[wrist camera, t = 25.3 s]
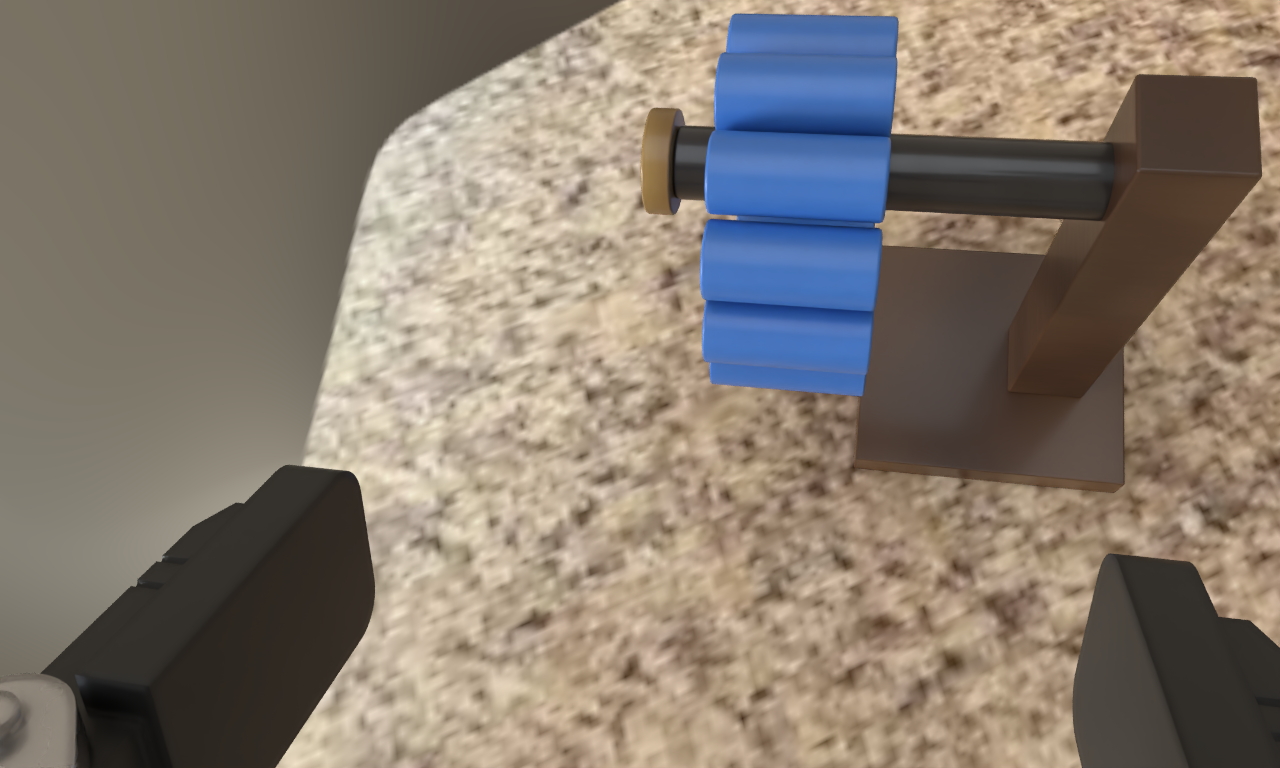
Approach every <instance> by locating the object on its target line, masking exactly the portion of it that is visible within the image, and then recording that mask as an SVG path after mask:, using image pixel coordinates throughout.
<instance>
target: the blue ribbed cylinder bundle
mask: <svg viewBox="0 0 1280 768" xmlns="http://www.w3.org/2000/svg"><path fill="white" fill-rule="evenodd" d="M898 25H899V21H898V18H897V17H895V16H841V15H786V14H734V15H732V18H731V20H730V24H729V29H728V37H727V49H726V52H724V53H722V54H721V55H720V58H719V61H718V66H717V72H716V81H715V96H714V120H715V129H716V130H715V131H713V132H712V133H711V136H710V138H709V142H708V147H707V154H706V164H705V182H704V193H705V205H706V209H707V212H708V213H710V214H718V215H737V220H722V219H710V220H708V222H707V224H706V226H705V230H704V234H703V240H702V248H701V260H700V289H701V295H702V298H703V299H705V300H706V302H705V309H704V317H703V331H702V352H703V358H704V361H706V362H710V380H711V383H712V384H719V385H731V386H743V387H755V388H767V389H779V390H791V391H803V392H814V393H826V394H838V395H850V396H863V395H864V390H865V382H866V374H867V373H868V370H869V363H870V355H871V345H872V334H873V321H874V310H875V308H876V303H877V296H878V287H879V277H880V266H881V253H882V230H881V229H879V228H875V223H881V222H883V220H884V216H885V209H886V201H887V192H888V182H889V171H890V158H891V140H890V136H891V129H892V121H893V112H894V102H895V91H896V78H897V58H896V52H897V40H898Z"/></svg>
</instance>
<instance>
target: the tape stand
mask: <svg viewBox="0 0 1280 768" xmlns="http://www.w3.org/2000/svg"><path fill="white" fill-rule="evenodd" d="M715 130H716V129H715V127H709V126H685V122H684V117H683V113H682V111H681V110H680V109H675V108H653V109H651V111H650V112H649V115H648V117H647V120H646V124H645V129H644V135H643V142H642V153H641V190H642V198H643V203H644V207H645V210H646V212H647V213H649V214H662V215H674V214H676V213H677V211H678V209H679V206H680V202H681V199H684V200H703V201H705V193H704V182H705V164H706V154H707V147H708V142H709V138H710V136H711V133H712V132H713V131H715ZM890 140H891V158H890V171H889V182H888V192H887V201H886V209H885V210H895V211H914V212H934V213H953V214H972V215H991V216H1011V217H1030V218H1049V219H1064V220H1063V222H1062V224H1061V226H1060V228H1059V230H1058V232H1057V234H1056V236H1055V238H1054V240H1053V242H1052V244H1051V246H1050V248H1049V250H1048V252H1047V254H1046V255H1036V254H1019V253H1002V252H985V251H968V250H950V249H933V248H916V247H899V246H882V253H881V266H880V277H879V287H878V296H877V303H876V308H875V310H874V321H873V334H872V345H871V355H870V363H869V370H868V373H867V374H866V382H865V390H864V395H863V396H859V400H858V413H857V426H856V439H855V452H854V465H853V466H854V468H862V469H872V470H882V471H893V472H903V473H913V474H924V475H934V476H944V477H955V478H965V479H975V480H986V481H996V482H1006V483H1017V484H1027V485H1037V486H1048V487H1058V488H1068V489H1079V490H1089V491H1099V492H1110V493H1114V492H1116V491H1117V490H1118V489H1119V488H1121V487H1122V486H1123V485H1124V484H1125V481H1124V345H1125V344H1126V343H1127V342H1128V340H1129V339H1130V338H1131V337H1132V336H1133V334H1134V333H1135V332H1136V331H1137V329H1138V328H1139V327H1140V326H1141V324H1142V323H1143V322H1144V321H1145V320H1146V318H1147V317H1148V316H1149V315H1150V313H1151V312H1152V311H1153V310H1154V309H1155V307H1156V306H1157V305H1158V304H1159V302H1160V301H1161V300H1162V299H1163V298H1164V296H1165V295H1166V294H1167V293H1168V291H1169V290H1170V289H1171V288H1172V286H1173V285H1174V284H1175V283H1176V282H1177V280H1178V279H1179V278H1180V277H1181V275H1182V274H1183V273H1184V272H1185V271H1186V269H1187V268H1188V267H1189V266H1190V264H1191V263H1192V262H1193V261H1194V259H1195V258H1196V257H1197V256H1198V255H1199V253H1200V252H1201V251H1202V250H1203V248H1204V247H1205V246H1206V245H1207V244H1208V242H1209V241H1210V240H1211V239H1212V237H1213V236H1214V235H1215V234H1216V232H1217V231H1218V230H1219V229H1220V228H1221V226H1222V225H1223V224H1224V223H1225V221H1226V220H1227V219H1228V218H1229V217H1230V215H1231V214H1232V213H1233V212H1234V210H1235V209H1236V208H1237V207H1238V205H1239V204H1240V203H1241V202H1242V201H1243V199H1244V198H1245V197H1246V196H1247V194H1248V193H1249V192H1250V191H1251V190H1252V188H1253V187H1254V186H1255V185H1256V183H1257V182H1258V181H1259V180H1260V178H1261V177H1262V164H1261V146H1260V128H1259V109H1258V91H1257V79H1256V78H1253V77H1218V76H1182V75H1145V74H1140V75H1137V76H1136V77H1135V79H1134V81H1133V83H1132V85H1131V87H1130V89H1129V91H1128V93H1127V95H1126V97H1125V99H1124V101H1123V103H1122V105H1121V107H1120V109H1119V111H1118V113H1117V115H1116V117H1115V119H1114V121H1113V123H1112V125H1111V127H1110V129H1109V131H1108V133H1107V135H1106V137H1105V139H1104V141H1103V142H1095V141H1069V140H1044V139H1018V138H992V137H966V136H941V135H915V134H891V136H890Z"/></svg>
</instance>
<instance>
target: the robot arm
mask: <svg viewBox="0 0 1280 768" xmlns="http://www.w3.org/2000/svg"><path fill="white" fill-rule="evenodd" d="M137 581H138V583H137V586H136V587H133V586H131V587H130V588H129V589H127V590H126V592H124V593H123V594H122V595H121V596H120V597H119V598H118V599H117V600H116V601H115V602H114V603H113V604H112V605H111V606H110V607H109V608H108V609H107V610H106V611H105V612H104V613H103V614H102V615H101V616H99V618H97V619H96V621H94V622H93V623H92V624H91V625H90V626H89V627H88V628H87V629H86V630H85V631H84V632H83V633H82V634H81V635H80V636H79V637H78V638H77V639H76V640H75V641H74V642H72V644H70V645H69V646H68V647H67V648H66V649H65V650H64V651H63V652H62V653H61V654H60V655H59V656H58V657H57V658H56V659H55V660H54V661H53V662H52V663H51V664H50V665H49V666H48V667H47V668H46V669H45V670H43V671H42V672H41V673H40V674H36V673H23V674H22V673H21V674H13V675H6V676H1V677H0V768H275V767H276V766H277V764H278V763H279V761H280V760H281V759H282V757H283V756H284V754H285V753H286V751H287V750H288V748H289V747H290V745H291V744H292V742H293V741H294V739H295V738H296V736H297V735H298V733H299V732H300V730H301V729H302V727H303V726H304V724H305V723H306V721H307V720H308V718H309V717H310V715H311V714H312V712H313V711H314V709H315V708H316V706H317V705H318V703H319V702H320V700H321V699H322V697H323V696H324V694H325V693H326V691H327V690H328V688H329V687H330V685H331V684H332V682H333V681H334V679H335V678H336V676H337V675H338V673H339V672H340V670H341V669H342V667H343V666H344V664H345V663H346V661H347V660H348V658H349V657H350V655H351V654H352V652H353V651H354V649H355V648H356V646H357V645H358V643H359V642H360V640H361V639H362V637H363V635H364V634H365V631H366V629H367V627H368V624H369V622H370V618H371V615H372V611H373V606H374V599H375V580H374V573H373V567H372V560H371V554H370V547H369V541H368V534H367V527H366V521H365V514H364V508H363V501H362V495H361V489H360V485H359V482H358V480H357V478H356V476H355V475H354V474H353V473H351V472H350V471H343V470H333V469H324V468H314V467H305V466H295V465H285V466H283V467H281V468H280V469H278V470H277V471H276V472H275V473H274V474H273V475H272V476H271V477H270V478H269V479H268V480H267V481H266V482H265V483H264V484H263V485H262V486H261V487H260V488H259V489H258V490H257V491H256V492H255V493H254V494H253V495H252V496H251V497H250V498H249V499H248V500H247V501H246V502H245V503H244V504H242V503H235V504H233V505H231V506H229V507H227V508H226V509H224V510H222V511H220V512H218V513H217V514H215V515H213V516H211V517H209V518H208V519H205V520H204V521H202V522H200V523H198V524H196V525H195V526H193V527H192V528H191V529H190V530H189V531H188V532H187V533H186V534H185V535H184V536H182V538H180V539H179V540H178V541H177V542H176V543H175V544H174V545H173V546H172V547H171V548H170V549H169V550H168V551H167V552H166V553H165V554H164V555H163V559H162V562H156V563H155V564H154V565H152V566H151V567H150V568H149V569H148V570H147V571H146V572H145V573H144V574H143V575H142V576H141V577H140V578H139V579H138V580H137ZM1073 725H1074V733H1075V738H1076V743H1077V747H1078V752H1079V756H1080V761H1081V765H1082V768H1280V648H1279V647H1278V646H1277V645H1276V644H1275V643H1274V642H1273V641H1272V640H1271V639H1270V638H1268V637H1267V636H1266V635H1265V634H1264V633H1263V632H1262V631H1261V630H1260V629H1259V628H1258V627H1256V626H1255V625H1254V624H1253V623H1252V622H1251V621H1250V620H1241V619H1232V618H1223V617H1218V615H1217V613H1216V611H1215V608H1214V606H1213V604H1212V602H1211V600H1210V597H1209V595H1208V593H1207V591H1206V589H1205V586H1204V584H1203V582H1202V580H1201V578H1200V575H1199V573H1198V571H1197V569H1196V567H1195V566H1194V565H1193V564H1192V563H1190V562H1187V561H1177V560H1168V559H1158V558H1149V557H1139V556H1130V555H1120V554H1108V555H1106V557H1105V558H1104V560H1103V562H1102V564H1101V567H1100V570H1099V574H1098V578H1097V582H1096V586H1095V591H1094V595H1093V599H1092V603H1091V608H1090V612H1089V616H1088V621H1087V625H1086V629H1085V634H1084V638H1083V642H1082V646H1081V651H1080V655H1079V659H1078V664H1077V668H1076V673H1075V679H1074V687H1073Z"/></svg>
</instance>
